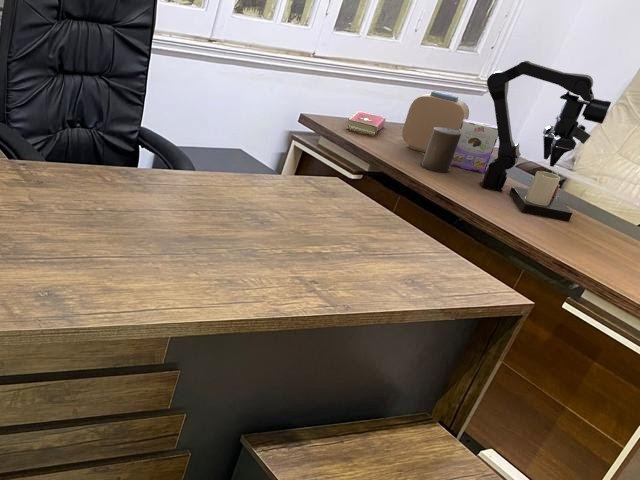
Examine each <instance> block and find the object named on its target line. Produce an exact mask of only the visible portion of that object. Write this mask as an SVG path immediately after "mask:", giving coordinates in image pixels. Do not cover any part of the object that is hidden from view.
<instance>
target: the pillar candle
mask: <svg viewBox="0 0 640 480" xmlns="http://www.w3.org/2000/svg"><path fill="white" fill-rule="evenodd" d="M460 136H461V133H460V132H459V131H456V130H453V129H449V128H444V127H434V130H433V133H432V136H431V139H430V142H429V144H428V147H427V150H426V153H425V154H424V157H423V160H422V162H421V166H422V167H423V168H425V169H428V170H430V171H433V172H439V173H448V172H449V171H450V167H451V162H452V159H453V156H454V153H455V150H456V147H457V145H458V142H459V139H460Z"/></svg>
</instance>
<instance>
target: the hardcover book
mask: <svg viewBox="0 0 640 480" xmlns="http://www.w3.org/2000/svg"><path fill="white" fill-rule="evenodd" d="M386 119H387V118H386V117H385V116H381V115H377V114H374V113H373V114H372V113H368V112H364V111H361V110H358V111H357V112H356V113H354V114H353V115H352V116H351V117H350V118H348V124H347V127H346V128H348V129H351V130H355V131H358V132H357V133H359V132H362V133H361V134H363V133H365V134H364V135H367V134H369V135H368V136H371V135H372V136H373V137H375V136H376V134H377V133H378V132H379V131H380V130H381V129H382V128H383V127H384V126H385V124H386ZM348 125H350V126H355V127H358V128H361V129H365V130H368V131H372V132H375V133H376V132H377V131H378V130H379V131H378V132H377V133H376V134H374V133H371V132H367V131H363V130H359V129H355V128H351V127H348ZM351 130H350V131H351ZM355 131H354V132H355ZM372 136H371V137H372Z"/></svg>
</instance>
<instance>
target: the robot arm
mask: <svg viewBox="0 0 640 480" xmlns="http://www.w3.org/2000/svg"><path fill="white" fill-rule="evenodd" d="M521 76H527V77H530V78H535V79H538V80H540V81H543V82H547V83H551V84H553V85H557V86H560V87H561V88H563V89H565V90H566V92H565V93H563V94H561V95H560V96H559V99H562V100H564V102H563V105H562V107H561V109H560V112H559V114H558V115H556V117H555V120H556V121H555V123H554V126H553V125H547V126H545V127H544V129H543V131H542V138H543V139H542V141H543V160H546V161H547V160H548V159H549V167H555V165H556V164H557V163H558V162H559V160H560V159H561V158H562V157H563V155H564V154H566V153H568V152H571V151H572V150H575V149H576V146H577V142H576V140H577V141H579V142H580V143H581V144H582V145H584V144H586V142H588V140H589V139H590V138H591V137H592V135H591V134H590V133H589V132H587V131H586V126H584V125H583V124H579V121H578V120H579V117H580V115H581V116H582V117H583V120H584V121H587V122H588V121H589V122H592V123H597V124H601V125H603V124H604V121H605V119H606V118H607V116H608V115H607V114H608V113H609V109H610V107H611V104H612V101H609V100H603V99H598V98H595V94H594V92H593V90H592V88H593V86H594V80H593V77H592V76H591V75H589V74H583V73H574V72H573V73H571V72H564V71H561V70H558V69H554V68H551V67H548V66H543V65H540V64H537V63H533V62H531V61H529V60H523V61H521V62H519V63H518V64H516V65H515V66H513V67H510V68H508V69H506V70H497V71H495V72H493V73H491V74H490V75H489V76H488V77H487V80H486V86H487V90H488V92H489V95H490V97H491V99H492V102H493V107H494V113H495V121H496V126H497V129H498V150H497V158H495V159H493V160H492V161H491V162H490V163H488V166H487V168H486V170H485V173H484V175H483V178H482V181H479V184H480V185H481V187H482V188H483V189H486V190H487V189H488V190H493V191H496V192H497V191H498V192H503V189H504V186H505V185H506V182H507V180H508V177H507V175H508V172H507V170H510V169H512V168H513V167H514V166H515V165H517V163H518V161H519V160H520V159H519V158H520V157H521V155H522V154H521V152H520V143H519V142H518V143H515V142H514V140H513V135H512V126H511V120H510V112H509V103H508V93H509V85H510V84H509V83H510V81H512V80H515V79H517V78H519V77H521ZM580 98H581V99H580ZM584 106H585V107H584ZM583 108H584V109H583ZM581 112H582V113H581ZM574 138H575V139H576V140H575V139H574Z"/></svg>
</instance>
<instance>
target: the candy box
mask: <svg viewBox="0 0 640 480" xmlns="http://www.w3.org/2000/svg"><path fill="white" fill-rule="evenodd" d="M459 132H460V133H461V136H460V139H459V142H458V145H457V147H456V150H455V153H454V156H453V159H452V162H451V165H450V167H451V166H453V167H456V168H460V169H465V170H469V171H473V172H476V173H477V172H478V173H482V174H485V173H486V170H487V167H488V166H489V162H490V159H491V157H492V154H493V152H494V149H495V146H496V144H497V141H498V140H499V137H498V129H497V125H494V124H491V123H485V122H482V121H477V120H472V119H469V118H468V119H463V121H462V123H461V126H460V129H459Z"/></svg>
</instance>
